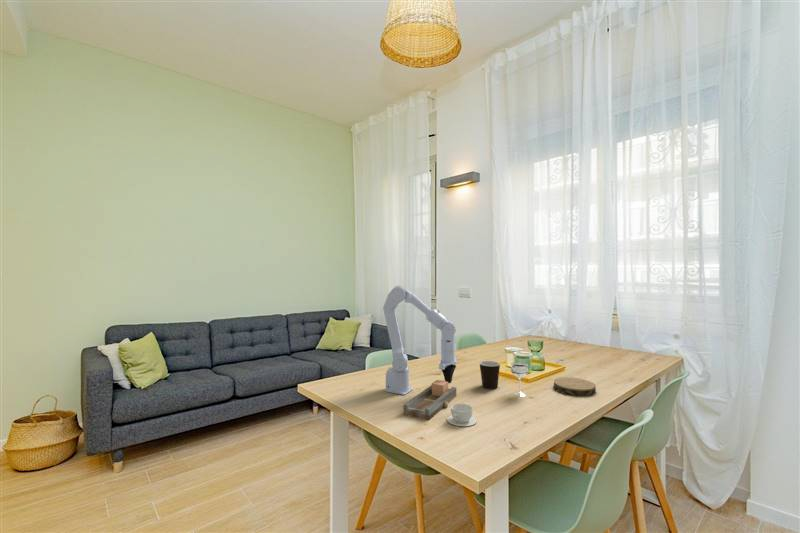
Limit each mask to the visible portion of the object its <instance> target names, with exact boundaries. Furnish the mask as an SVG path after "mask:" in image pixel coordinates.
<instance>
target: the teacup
mask: <svg viewBox="0 0 800 533" xmlns="http://www.w3.org/2000/svg"><path fill="white" fill-rule="evenodd" d="M473 408H474V407H473V406H471V405H470V404H467V403H454V404H452V405H451V406H450V414H451V415H449V416H447V418H446V421H447V422H448V423H449V424H451V425H453V426H458V427H471V426H474V425H475V424H476V423H477V418H475V417H474V416H473V410H474V409H473Z"/></svg>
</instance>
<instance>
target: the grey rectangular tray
mask: <svg viewBox="0 0 800 533" xmlns="http://www.w3.org/2000/svg"><path fill="white" fill-rule="evenodd" d="M456 397H457V387H456V386H452V387H450V388H448V391H447V392H446V393H444V394H443V395H442V396H435V395H432V384H430V386H428V387H427V388H426V389H424V390H423V391H420V392H419V393H418V394H416V396H413V397H412V398H411V399H409V400H408V401H407V402H406V403H404V404H403V415H404V414H405V415H404V416H408V415H409V417H413V418H414V417H415V418H418V419H419V418H420V419H423V420H427V419H428V420H429V421H430V420H432V418H434V417H435V416H436V415H437V414H439V412H441V410H443V408H448V406H449V404H450V402H452V400H454V399H455V398H456ZM428 420H427V421H428Z"/></svg>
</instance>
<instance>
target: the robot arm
mask: <svg viewBox="0 0 800 533" xmlns="http://www.w3.org/2000/svg"><path fill="white" fill-rule="evenodd" d="M403 301H404V303H407V304H408V303H409V304H411V305H413V306H414V307H415V308H417V309H418V310H419V311H420V312H422V313H423V314H424V315H425V318H426V320H427V322H429V323H430V324H431V325H433V326H434V327H435V328H436V329H438V330H440V333H441V337H440V351H441V352H440V356H441V358H440V362H439V364H438V370H441V372H442V375H443V378H444V381H446V382H448V384H451V383H452V381H453V375H454V373H455V369H456V368H457V365H456V364H458V363H459V362H458V361H457V357H456V341H455V340H456V339H455V333H456V327H455V324H454V323H453V322H452V321H451V320H450V318H448V317H446V316H444V315H443V314H442V313H441V311H440V310H439V309H436V308H430V307H429V306H428V305H426V304H425V303H424V302H423V301H422V300H421V299H420V298H419V297H418V296H417V295H415V293H413V292H411V291H410V290H408V289H406V288H405V287H404V286H402V285H396V286H394V287H393V288H392V289H391V290H390V291H389V293H388V294H387V297H386V300H385V302H384V305H383V308H382V309H383V312H384V318H385V323H386V328H387V332H388V337H389V338H388V339H389V341H390V346H391V353H392V355H391V356H392V362H391V366H392V367H391V368H388V369H387V370H386V373H385V390H384V392H387V393H391V394H397V395H403V396H405V395H406V394H408V393H409V392H411V391H413V390H414V388H413V387H410V373H409V372H410V371H409V370H410V369H409V367H408V360H409V357H408V355H407V353H406V351H405V349H404V346H403V342H402V336H401V332H400V327H399V323H398V319H397V314H396V308H397V307H398V306H399V304H400V303H402V302H403Z"/></svg>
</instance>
